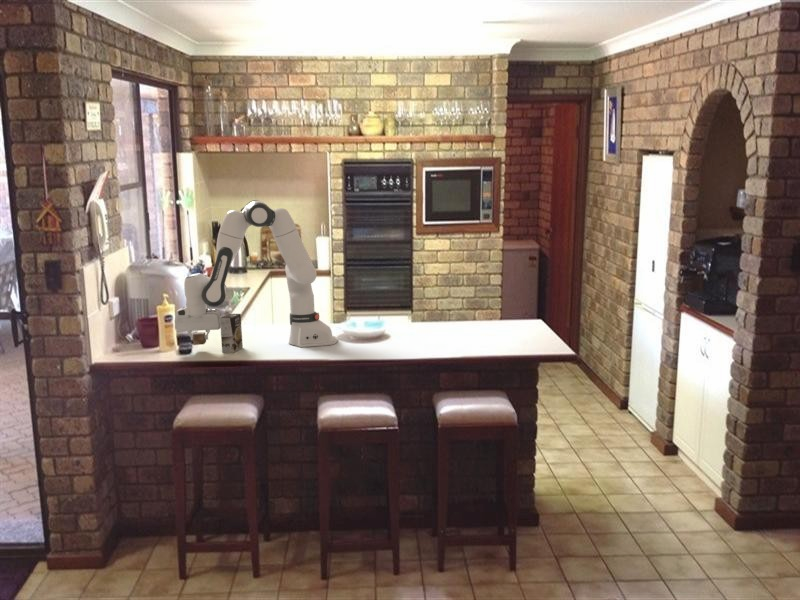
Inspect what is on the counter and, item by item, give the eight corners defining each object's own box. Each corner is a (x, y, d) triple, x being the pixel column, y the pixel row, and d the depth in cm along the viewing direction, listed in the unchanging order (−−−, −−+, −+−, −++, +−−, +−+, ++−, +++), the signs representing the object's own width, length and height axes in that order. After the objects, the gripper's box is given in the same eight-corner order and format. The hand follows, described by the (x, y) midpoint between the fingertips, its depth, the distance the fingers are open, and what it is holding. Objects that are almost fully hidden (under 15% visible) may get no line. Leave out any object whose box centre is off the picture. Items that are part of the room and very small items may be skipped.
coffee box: (235, 353, 329) (232, 317, 326) (221, 352, 330) (219, 317, 327) (243, 347, 338) (241, 313, 335) (230, 347, 339) (227, 313, 336)
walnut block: (206, 341, 336) (205, 332, 335) (203, 344, 331) (202, 334, 330) (196, 342, 336) (195, 332, 335) (193, 344, 331) (192, 335, 330)
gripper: (221, 307, 334) (224, 337, 336) (176, 309, 333) (179, 338, 336) (218, 310, 327) (221, 340, 330) (172, 312, 327) (175, 342, 330)
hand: (199, 339), depth 333 cm, fingers closed on walnut block, 4 cm apart
